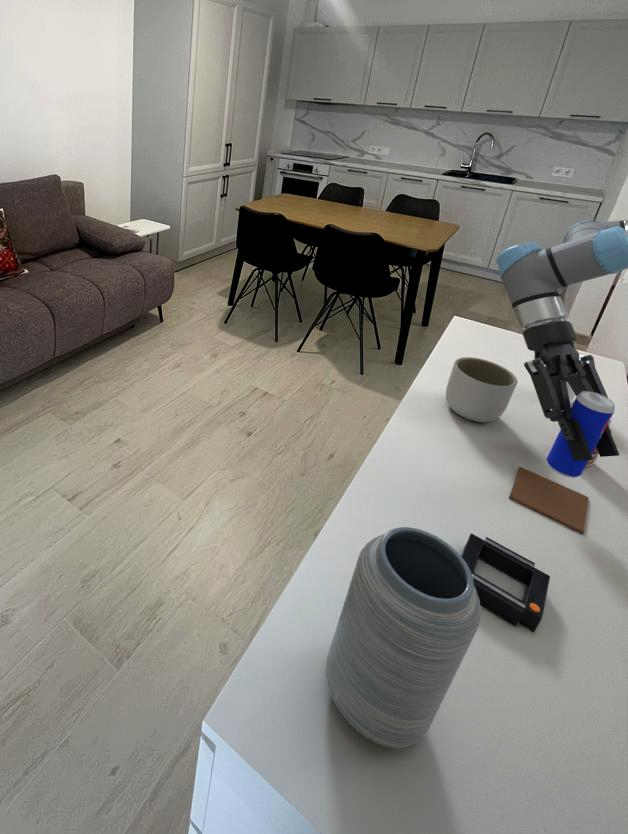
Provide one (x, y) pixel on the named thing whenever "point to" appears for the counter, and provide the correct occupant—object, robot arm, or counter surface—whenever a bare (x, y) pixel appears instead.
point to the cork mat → (550, 499)
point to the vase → (401, 635)
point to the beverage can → (593, 422)
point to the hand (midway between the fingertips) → (596, 457)
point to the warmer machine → (517, 568)
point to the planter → (479, 389)
